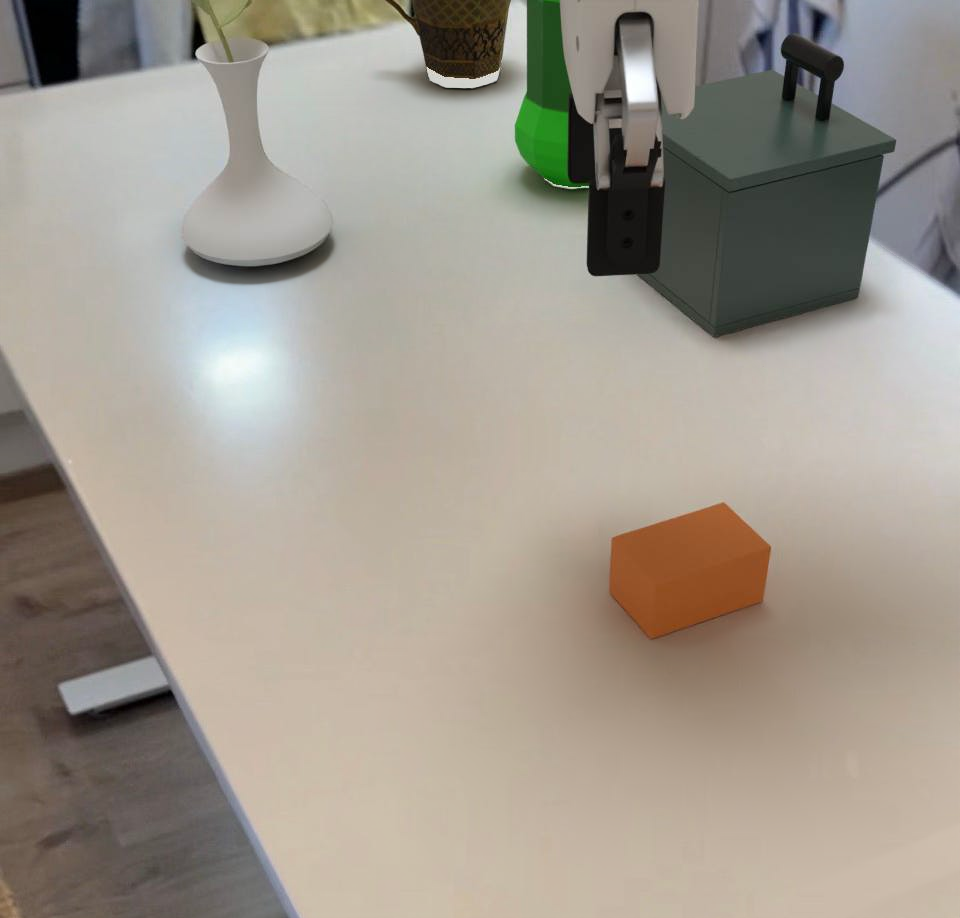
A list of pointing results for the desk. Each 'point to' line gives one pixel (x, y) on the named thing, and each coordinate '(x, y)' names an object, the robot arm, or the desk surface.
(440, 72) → the ceramic cup
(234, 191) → the flower in vase
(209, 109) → the desk surface
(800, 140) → the bin lid
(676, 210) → the bin
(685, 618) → the block
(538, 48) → the plastic bottle
